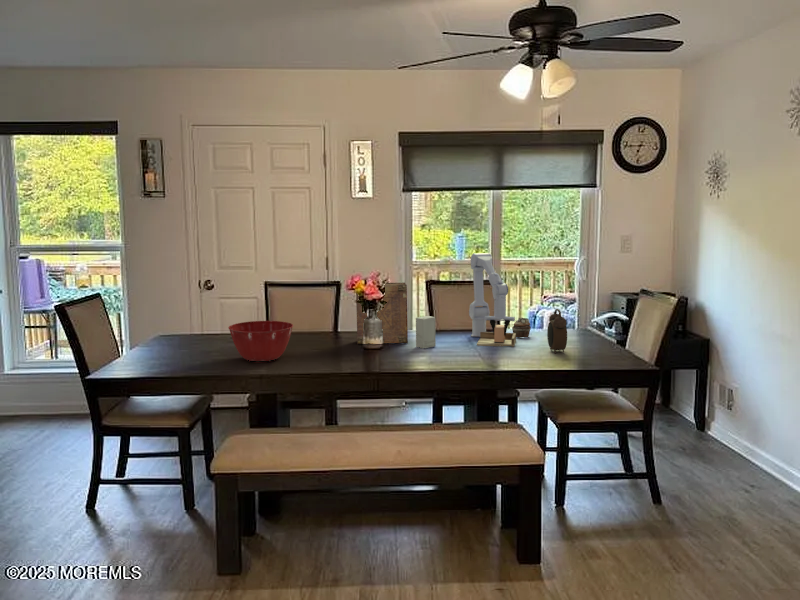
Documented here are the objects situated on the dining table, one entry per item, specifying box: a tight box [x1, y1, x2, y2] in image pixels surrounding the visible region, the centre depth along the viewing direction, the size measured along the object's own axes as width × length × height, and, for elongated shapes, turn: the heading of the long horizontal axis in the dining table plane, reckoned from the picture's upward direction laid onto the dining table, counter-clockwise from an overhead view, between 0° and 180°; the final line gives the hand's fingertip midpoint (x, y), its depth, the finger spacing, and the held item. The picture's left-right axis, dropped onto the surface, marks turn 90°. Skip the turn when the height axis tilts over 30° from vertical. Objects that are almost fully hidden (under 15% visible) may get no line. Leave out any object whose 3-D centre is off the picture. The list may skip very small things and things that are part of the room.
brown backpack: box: [547, 308, 568, 354], centre depth 298 cm, size 14×7×20 cm, turn 1°
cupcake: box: [511, 317, 532, 338], centre depth 338 cm, size 10×10×10 cm
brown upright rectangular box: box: [355, 282, 409, 345], centre depth 325 cm, size 25×9×30 cm, turn 94°
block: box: [494, 324, 505, 342], centre depth 320 cm, size 4×9×7 cm, turn 166°
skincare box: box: [415, 315, 437, 349], centre depth 313 cm, size 8×6×15 cm
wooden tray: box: [476, 331, 517, 348], centre depth 322 cm, size 16×18×4 cm
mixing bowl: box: [228, 320, 294, 362], centre depth 290 cm, size 28×28×16 cm
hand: (499, 335), depth 321 cm, fingers closed on block, 4 cm apart
